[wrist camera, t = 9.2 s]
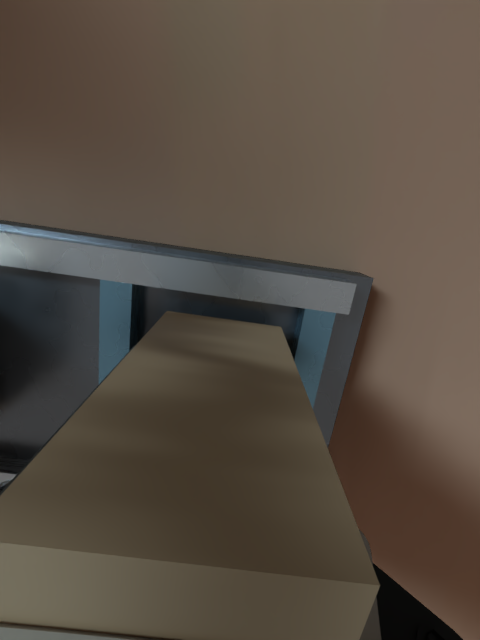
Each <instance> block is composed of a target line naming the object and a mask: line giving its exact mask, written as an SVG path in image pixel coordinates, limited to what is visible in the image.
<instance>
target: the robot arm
mask: <svg viewBox="0 0 480 640" xmlns="http://www.w3.org/2000/svg"><path fill="white" fill-rule="evenodd" d="M10 481H11V480H7V481H4V482H1V483H0V492H1V491H2V490H3V489H4V488H5V487H6V486H7V485H8V483H9V482H10ZM359 532H360V534H361V537H362V539H363V542H364V545H365V547H366V550H367V552H368V555H369V558H370V560H371V563H372V555H371V549H370V546H369V542H368V541H367V539H366V537H365V536H364V534H363V533H362V532H361V531H360V530H359ZM372 566H373V568H374V571H375V573H376V576H377V579H378V581H379V584H380V587H379V590H378V593H377V595H376V598H375V600H374V603H373V606H372V608H371V611H370V613H369V616H368V619H367V621H366V624H365V626H364V629H363V632H362V634H361V637H360V639H359V640H463V639H462V638H461V637H460V636H459V635H458V634H457V633H456V632H455V631H454V630H453V629H451V628H450V627H449V626H448V625H447V624H445V623H444V622H443V621H442V620H441V619H439V618H438V617H437V616H436V615H435V614H433V613H432V612H431V611H430V610H429V609H427V608H426V607H425V606H424V605H423V604H421V603H420V602H419V601H418V600H417V599H415V598H414V597H413V596H412V595H411V594H409V593H408V592H407V591H406V590H405V589H403V588H402V587H401V586H400V585H399V584H397V583H396V582H395V581H394V580H393V579H391V578H390V577H389V576H388V575H387V574H386V573H384V572H383V571H382V570H381V569H380V568H378V567H377V566H376V565H375V564H374V563H372ZM0 640H161V639H152V638H142V637H133V636H123V635H114V634H104V633H95V632H85V631H75V630H66V629H56V628H47V627H37V626H27V625H16V624H6V623H0Z"/></svg>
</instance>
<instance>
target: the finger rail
mask: <svg viewBox="0 0 480 640" xmlns="http://www.w3.org/2000/svg"><path fill="white" fill-rule="evenodd" d="M372 282H373V278H371V277H369V276H366V275H364V274H361V273H358V272H351V271H345V270H338V269H331V268H324V267H317V266H311V265H304V264H297V263H290V262H283V261H276V260H270V259H263V258H256V257H249V256H242V255H236V254H229V253H222V252H215V251H208V250H201V249H195V248H188V247H181V246H174V245H167V244H161V243H154V242H147V241H140V240H133V239H127V238H120V237H113V236H106V235H99V234H92V233H86V232H79V231H72V230H65V229H58V228H52V227H45V226H38V225H31V224H24V223H17V222H11V221H4V220H0V483H1V482H4V481H7V480H12V479H13V478H14V477H15V476H16V475H17V474H18V473H19V471H20V470H21V469H22V468H23V467H24V466H25V465H26V464H27V463H28V462H29V460H30V459H31V458H32V457H33V456H34V455H35V454H36V453H37V452H38V451H39V449H40V448H41V447H42V446H43V445H44V444H45V443H46V442H47V441H48V440H49V439H50V437H51V436H52V435H53V434H54V433H55V432H56V431H57V430H58V429H59V428H60V426H61V425H62V424H63V423H64V422H65V421H66V420H67V419H68V418H69V417H70V415H71V414H72V413H73V412H74V411H75V410H76V409H77V408H78V407H79V406H80V405H81V403H82V402H83V401H84V400H85V399H86V398H87V397H88V396H89V395H90V394H91V392H92V391H93V390H94V389H95V388H96V387H97V386H98V385H99V384H100V383H101V381H102V380H103V379H104V378H105V377H106V376H107V375H108V374H109V373H110V372H111V371H112V369H113V368H114V367H115V366H116V365H117V364H118V363H119V362H120V361H121V360H122V358H123V357H124V356H125V355H126V354H127V353H128V352H129V351H130V350H131V349H132V347H133V346H136V345H137V343H138V342H139V341H140V340H141V339H142V338H143V337H144V336H145V335H146V333H147V332H148V331H149V330H150V329H151V328H152V327H153V326H154V325H155V323H156V322H157V321H158V320H159V319H160V318H161V317H162V316H163V315H164V313H165V312H166V311H172V312H179V313H186V314H193V315H200V316H208V317H215V318H222V319H229V320H236V321H243V322H251V323H258V324H265V325H272V326H279V327H281V328H282V330H283V333H284V336H285V338H286V341H287V343H288V346H289V349H290V351H291V354H292V356H293V359H294V362H295V364H296V367H297V369H298V372H299V375H300V377H301V380H302V383H303V385H304V388H305V390H306V393H307V396H308V398H309V401H310V403H311V406H312V409H313V411H314V414H315V417H316V419H317V422H318V424H319V427H320V430H321V432H322V435H323V437H324V440H325V443H326V445H327V448H328V446H329V442H330V438H331V435H332V431H333V427H334V424H335V420H336V416H337V412H338V409H339V405H340V401H341V398H342V394H343V390H344V386H345V383H346V379H347V375H348V371H349V368H350V364H351V360H352V357H353V353H354V349H355V345H356V342H357V338H358V334H359V330H360V327H361V323H362V319H363V316H364V312H365V308H366V304H367V301H368V297H369V293H370V290H371V286H372Z"/></svg>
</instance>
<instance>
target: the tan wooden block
mask: <svg viewBox="0 0 480 640" xmlns="http://www.w3.org/2000/svg"><path fill="white" fill-rule="evenodd" d="M379 587H380V584H379V581H378V579H377V576H376V573H375V571H374V568H373V566H372V563H371V560H370V558H369V555H368V552H367V550H366V547H365V545H364V542H363V539H362V537H361V534H360V532H359V529H358V526H357V524H356V521H355V519H354V516H353V513H352V511H351V508H350V505H349V503H348V500H347V498H346V495H345V492H344V490H343V487H342V485H341V482H340V479H339V477H338V474H337V471H336V469H335V466H334V464H333V461H332V458H331V456H330V453H329V451H328V448H327V445H326V443H325V440H324V437H323V435H322V432H321V430H320V427H319V424H318V422H317V419H316V417H315V414H314V411H313V409H312V406H311V403H310V401H309V398H308V396H307V393H306V390H305V388H304V385H303V383H302V380H301V377H300V375H299V372H298V369H297V367H296V364H295V362H294V359H293V356H292V354H291V351H290V349H289V346H288V343H287V341H286V338H285V336H284V333H283V330H282V328H281V327H279V326H272V325H265V324H258V323H251V322H243V321H236V320H229V319H222V318H215V317H208V316H200V315H193V314H186V313H179V312H172V311H166V312H165V313H164V315H163V316H162V317H161V318H160V319H159V320H158V321H157V322H156V323H155V325H154V326H153V327H152V328H151V329H150V330H149V331H148V332H147V333H146V335H145V336H144V337H143V338H142V339H141V340H140V341H139V342H138V343H137V345H136V346H133V347H132V349H131V350H130V351H129V352H128V353H127V354H126V355H125V356H124V357H123V358H122V360H121V361H120V362H119V363H118V364H117V365H116V366H115V367H114V368H113V369H112V371H111V372H110V373H109V374H108V375H107V376H106V377H105V378H104V379H103V380H102V381H101V383H100V384H99V385H98V386H97V387H96V388H95V389H94V390H93V391H92V392H91V394H90V395H89V396H88V397H87V398H86V399H85V400H84V401H83V402H82V403H81V405H80V406H79V407H78V408H77V409H76V410H75V411H74V412H73V413H72V414H71V415H70V417H69V418H68V419H67V420H66V421H65V422H64V423H63V424H62V425H61V426H60V428H59V429H58V430H57V431H56V432H55V433H54V434H53V435H52V436H51V437H50V439H49V440H48V441H47V442H46V443H45V444H44V445H43V446H42V447H41V448H40V449H39V451H38V452H37V453H36V454H35V455H34V456H33V457H32V458H31V459H30V460H29V462H28V463H27V464H26V465H25V466H24V467H23V468H22V469H21V470H20V471H19V473H18V474H17V475H16V476H15V477H14V478H13V479H12V480H11V481H10V482H9V483H8V485H7V486H6V487H5V488H4V489H3V490H2V491H1V492H0V623H6V624H16V625H27V626H37V627H47V628H56V629H66V630H75V631H85V632H95V633H104V634H114V635H123V636H133V637H142V638H152V639H161V640H359V639H360V637H361V634H362V632H363V629H364V626H365V624H366V621H367V619H368V616H369V613H370V611H371V608H372V606H373V603H374V600H375V598H376V595H377V593H378V590H379Z"/></svg>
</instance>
